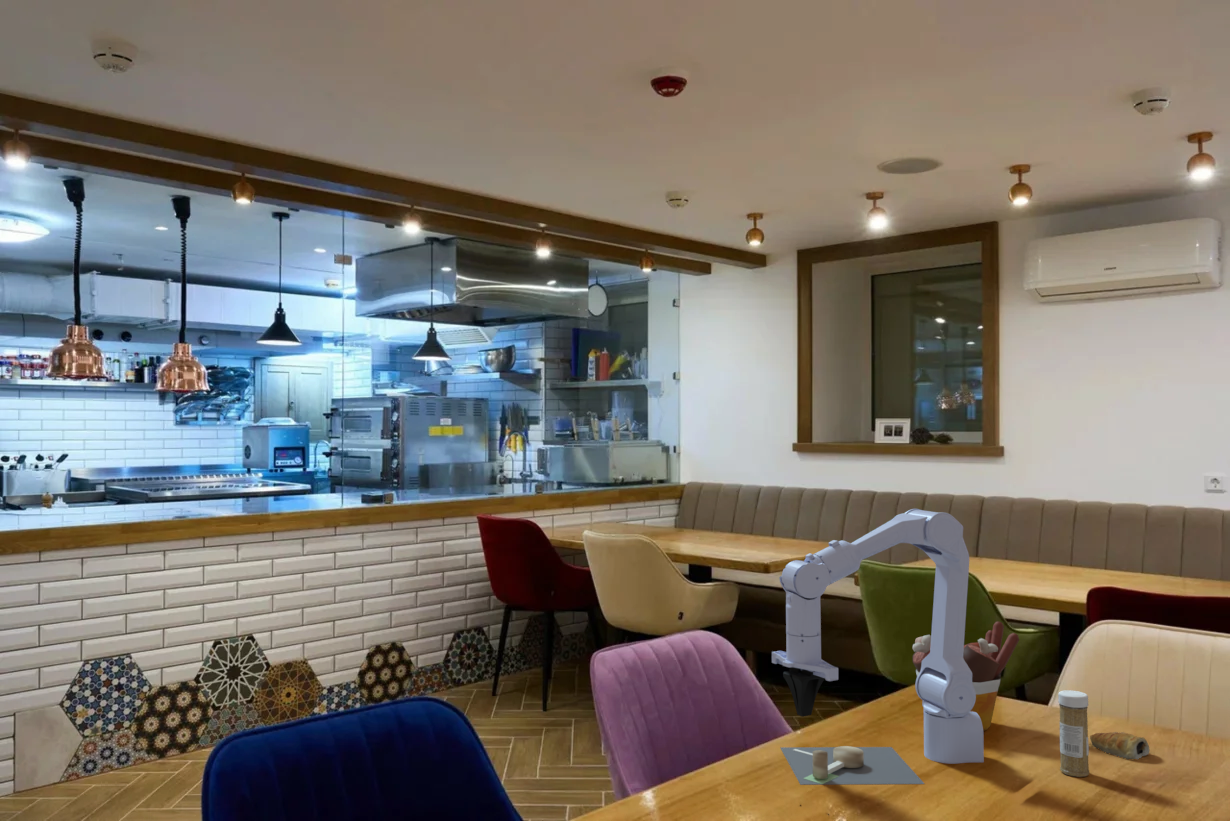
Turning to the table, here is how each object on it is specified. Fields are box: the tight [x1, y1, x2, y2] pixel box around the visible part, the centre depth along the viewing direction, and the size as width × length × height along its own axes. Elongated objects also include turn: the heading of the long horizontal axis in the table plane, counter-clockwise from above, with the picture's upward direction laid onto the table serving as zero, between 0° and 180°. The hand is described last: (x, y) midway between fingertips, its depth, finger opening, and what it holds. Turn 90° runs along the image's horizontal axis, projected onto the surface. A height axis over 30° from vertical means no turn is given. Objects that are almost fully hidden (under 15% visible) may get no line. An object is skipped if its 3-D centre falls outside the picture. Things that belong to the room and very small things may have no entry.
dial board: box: [780, 746, 925, 786], centre depth 161 cm, size 20×18×1 cm
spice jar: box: [1057, 689, 1090, 778], centre depth 160 cm, size 5×5×14 cm
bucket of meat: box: [912, 621, 1020, 732], centre depth 187 cm, size 20×16×20 cm
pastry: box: [1089, 731, 1151, 760], centre depth 171 cm, size 9×7×4 cm
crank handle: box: [813, 745, 864, 779], centre depth 158 cm, size 13×5×4 cm, turn 136°
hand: (804, 714), depth 159 cm, fingers closed
